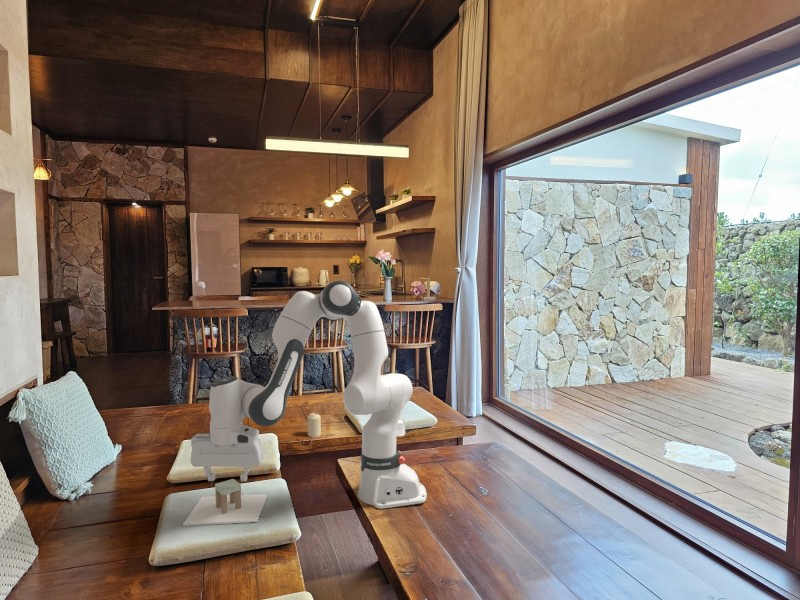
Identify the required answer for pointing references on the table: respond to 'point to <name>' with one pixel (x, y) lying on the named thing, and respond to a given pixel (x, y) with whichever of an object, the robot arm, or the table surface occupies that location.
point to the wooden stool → (225, 489)
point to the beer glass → (401, 428)
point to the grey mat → (211, 515)
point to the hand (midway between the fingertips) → (227, 480)
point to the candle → (314, 425)
